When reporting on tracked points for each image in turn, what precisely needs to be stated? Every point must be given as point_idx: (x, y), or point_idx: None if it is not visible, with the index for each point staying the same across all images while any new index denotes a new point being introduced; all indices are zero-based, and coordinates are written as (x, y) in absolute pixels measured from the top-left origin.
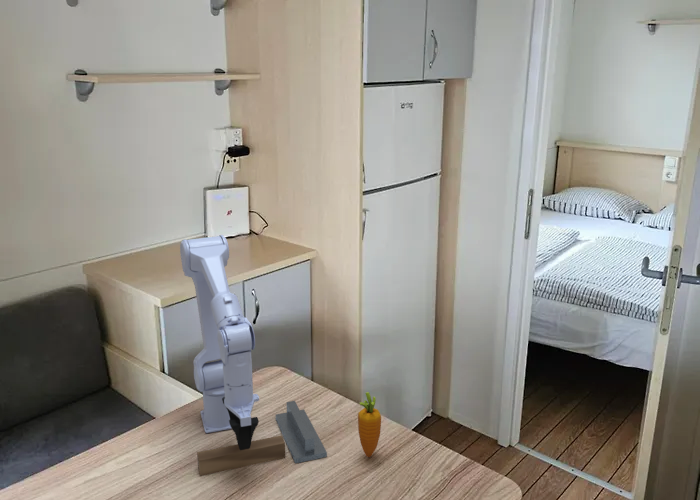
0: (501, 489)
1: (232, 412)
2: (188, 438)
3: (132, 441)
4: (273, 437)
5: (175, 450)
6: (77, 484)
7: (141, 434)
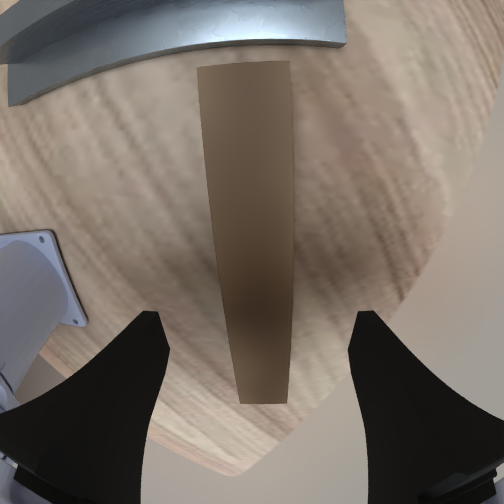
0: None
1: (137, 437)
2: None
3: None
4: (207, 117)
5: None
6: (236, 458)
7: None
